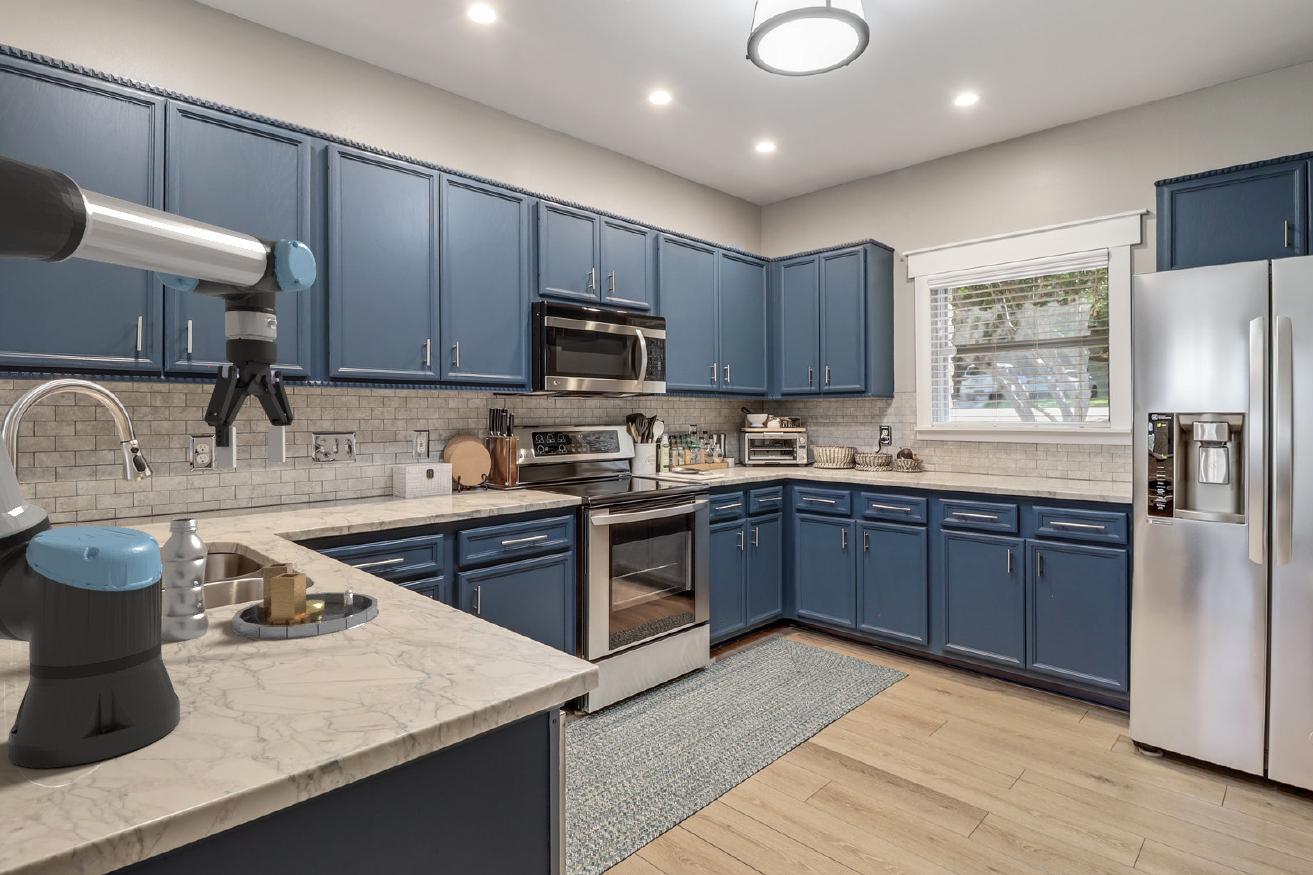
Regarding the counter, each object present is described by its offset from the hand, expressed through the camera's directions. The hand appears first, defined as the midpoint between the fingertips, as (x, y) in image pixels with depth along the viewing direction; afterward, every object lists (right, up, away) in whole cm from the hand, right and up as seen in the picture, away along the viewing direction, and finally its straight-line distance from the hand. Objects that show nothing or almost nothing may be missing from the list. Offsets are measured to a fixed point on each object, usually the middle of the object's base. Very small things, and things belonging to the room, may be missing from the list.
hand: (253, 464), depth 117 cm
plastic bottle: (-8, -29, -6) cm, 30 cm away
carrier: (+7, -29, +4) cm, 30 cm away
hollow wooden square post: (+7, -27, -2) cm, 29 cm away
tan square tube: (+1, -27, +6) cm, 28 cm away
